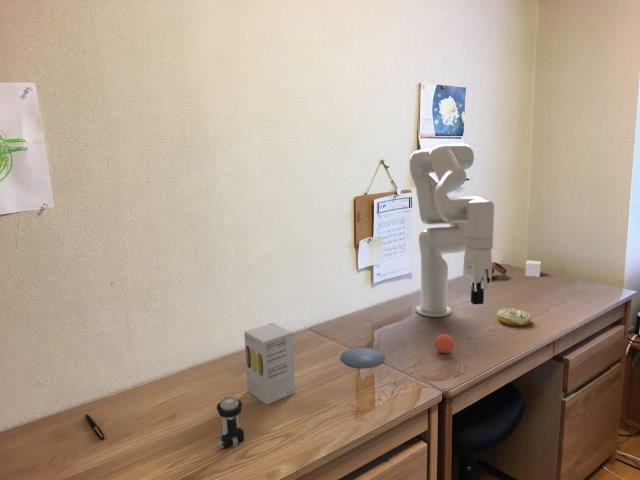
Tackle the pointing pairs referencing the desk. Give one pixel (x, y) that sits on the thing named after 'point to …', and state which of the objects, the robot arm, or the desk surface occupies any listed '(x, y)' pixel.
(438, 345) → the ball
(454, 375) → the desk surface
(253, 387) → the supplement box
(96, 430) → the fountain pen
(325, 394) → the desk surface
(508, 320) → the decorated donut
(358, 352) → the disc
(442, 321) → the desk surface
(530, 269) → the white cube
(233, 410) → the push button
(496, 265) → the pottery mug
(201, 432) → the desk surface
